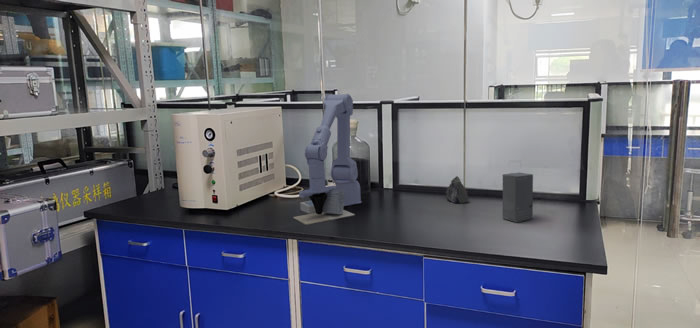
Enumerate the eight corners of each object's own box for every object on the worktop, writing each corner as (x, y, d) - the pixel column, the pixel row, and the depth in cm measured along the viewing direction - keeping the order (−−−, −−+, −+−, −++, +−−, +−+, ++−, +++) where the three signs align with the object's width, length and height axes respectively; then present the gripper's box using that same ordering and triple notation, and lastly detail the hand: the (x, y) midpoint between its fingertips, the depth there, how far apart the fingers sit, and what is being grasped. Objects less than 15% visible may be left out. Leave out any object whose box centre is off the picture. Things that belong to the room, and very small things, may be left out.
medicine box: (343, 214, 182) (345, 191, 183) (337, 214, 178) (339, 190, 179) (325, 212, 186) (327, 189, 187) (318, 212, 182) (321, 188, 183)
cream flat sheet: (340, 209, 191) (340, 208, 191) (354, 215, 182) (354, 214, 182) (292, 217, 181) (292, 217, 181) (305, 224, 172) (305, 224, 172)
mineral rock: (448, 195, 206) (448, 171, 205) (474, 197, 202) (474, 173, 200) (439, 202, 195) (439, 178, 193) (466, 204, 190) (466, 179, 189)
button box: (319, 206, 196) (318, 199, 195) (328, 210, 189) (328, 203, 188) (300, 210, 192) (300, 202, 191) (309, 214, 185) (309, 206, 184)
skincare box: (515, 223, 164) (516, 176, 162) (500, 218, 171) (500, 173, 168) (534, 219, 168) (535, 173, 165) (518, 214, 174) (519, 170, 172)
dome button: (317, 206, 194) (316, 196, 193) (323, 209, 189) (322, 199, 189) (305, 208, 191) (304, 198, 191) (311, 211, 187) (310, 201, 186)
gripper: (328, 173, 185) (330, 208, 187) (294, 178, 177) (296, 215, 179) (338, 175, 179) (340, 211, 181) (303, 181, 171) (305, 219, 174)
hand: (318, 213), depth 180 cm, fingers closed
